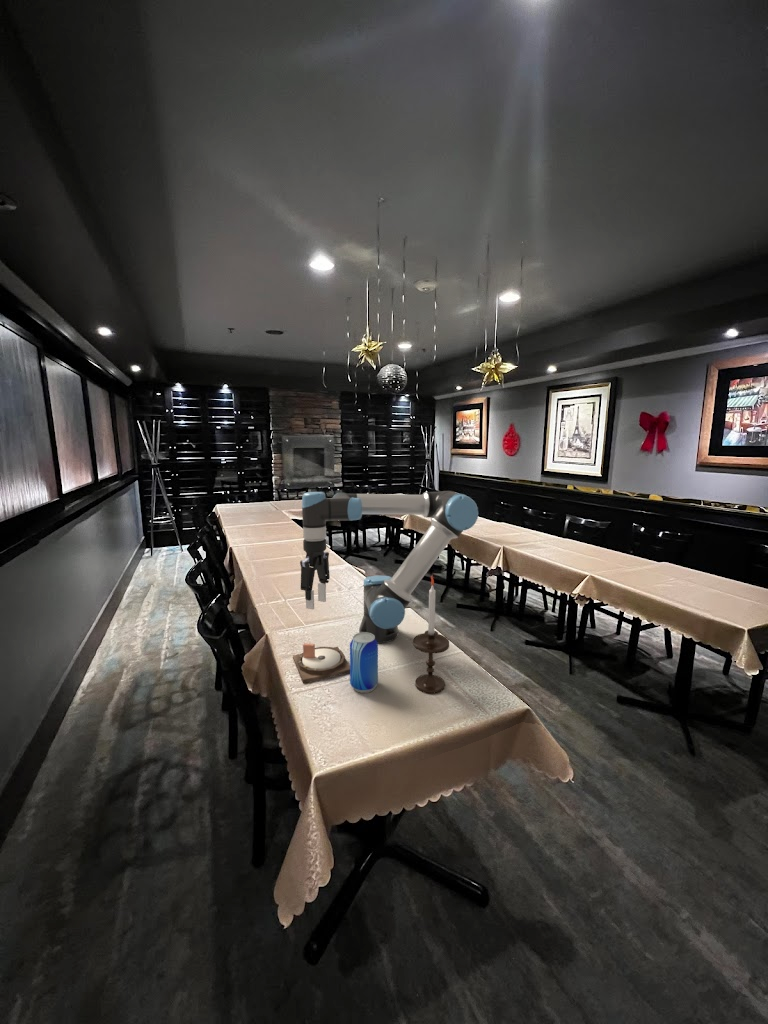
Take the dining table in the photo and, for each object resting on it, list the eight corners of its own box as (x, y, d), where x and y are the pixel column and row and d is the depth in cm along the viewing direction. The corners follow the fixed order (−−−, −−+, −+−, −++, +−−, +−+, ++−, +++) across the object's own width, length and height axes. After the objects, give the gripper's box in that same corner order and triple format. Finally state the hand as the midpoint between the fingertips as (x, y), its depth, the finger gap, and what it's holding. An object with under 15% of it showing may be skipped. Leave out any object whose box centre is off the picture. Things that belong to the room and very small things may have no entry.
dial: (344, 652, 140) (343, 637, 139) (335, 672, 127) (335, 656, 126) (308, 650, 141) (308, 635, 140) (297, 670, 129) (296, 653, 128)
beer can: (367, 697, 117) (367, 646, 114) (344, 688, 121) (344, 639, 119) (383, 683, 124) (383, 635, 122) (360, 675, 128) (360, 628, 126)
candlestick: (411, 674, 129) (413, 569, 123) (445, 675, 129) (448, 570, 123) (413, 695, 118) (414, 581, 113) (450, 696, 118) (453, 581, 112)
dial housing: (337, 649, 145) (337, 642, 144) (352, 672, 130) (352, 664, 130) (292, 658, 138) (292, 650, 138) (302, 683, 124) (302, 674, 123)
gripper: (321, 532, 144) (322, 593, 147) (287, 543, 126) (289, 613, 130) (339, 534, 141) (340, 597, 144) (306, 546, 123) (308, 617, 127)
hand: (316, 604), depth 137 cm, fingers open, 6 cm apart
